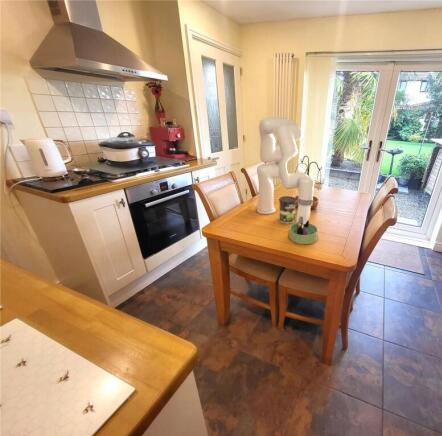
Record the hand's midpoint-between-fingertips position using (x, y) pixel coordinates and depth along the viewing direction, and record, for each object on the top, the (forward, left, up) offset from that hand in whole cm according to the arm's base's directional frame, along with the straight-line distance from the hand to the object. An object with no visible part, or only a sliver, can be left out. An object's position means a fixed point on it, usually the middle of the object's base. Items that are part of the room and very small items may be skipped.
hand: (302, 230), depth 126 cm
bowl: (0, 0, -4) cm, 4 cm away
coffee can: (-16, +17, -4) cm, 23 cm away
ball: (0, -1, -1) cm, 1 cm away
